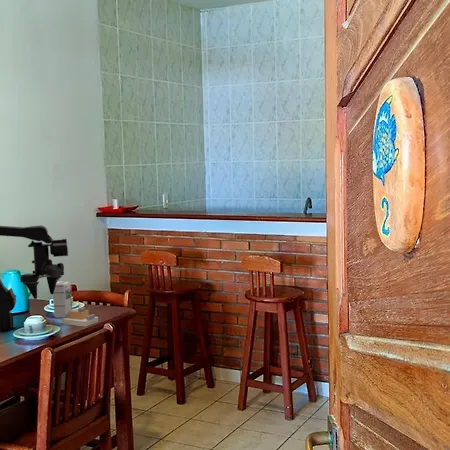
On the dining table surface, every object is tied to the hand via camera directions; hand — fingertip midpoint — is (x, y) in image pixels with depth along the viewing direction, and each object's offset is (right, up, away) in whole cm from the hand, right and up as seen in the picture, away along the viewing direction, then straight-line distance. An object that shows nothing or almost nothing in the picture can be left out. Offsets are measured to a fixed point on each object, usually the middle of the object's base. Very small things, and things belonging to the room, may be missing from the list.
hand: (43, 296), depth 248 cm
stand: (+13, -11, +5) cm, 18 cm away
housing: (+13, -9, +5) cm, 16 cm away
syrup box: (+3, -11, +18) cm, 21 cm away
